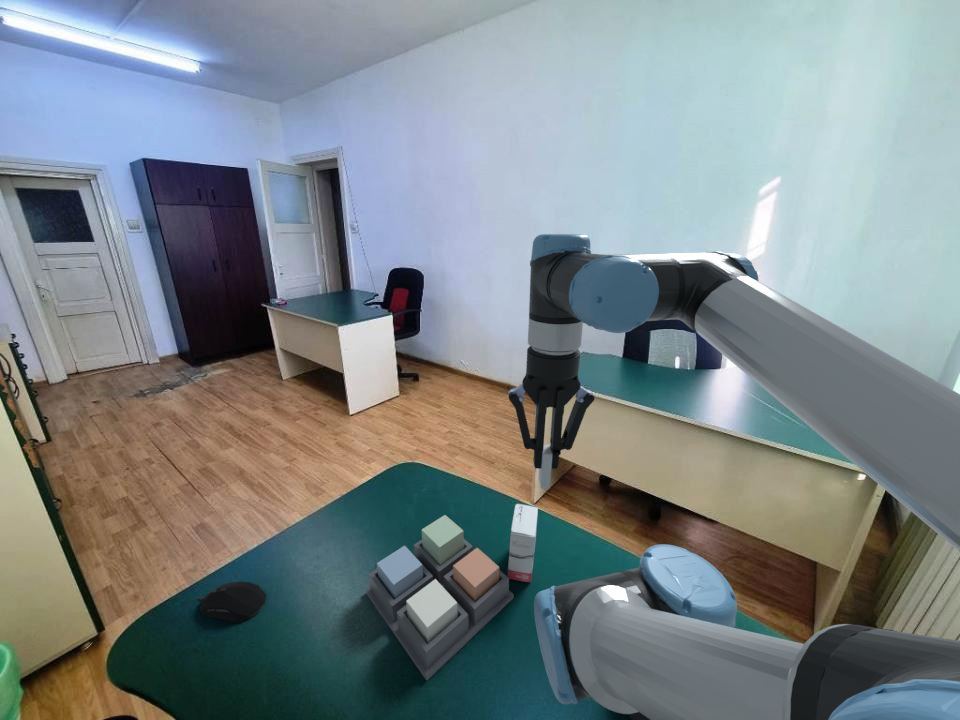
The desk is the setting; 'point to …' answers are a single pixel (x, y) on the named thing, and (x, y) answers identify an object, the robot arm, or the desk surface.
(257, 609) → the gaming mouse
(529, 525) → the ink box
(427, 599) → the key ivory
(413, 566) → the key slate
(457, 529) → the key sage
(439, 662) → the keypad
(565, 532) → the desk surface
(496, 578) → the key terracotta
